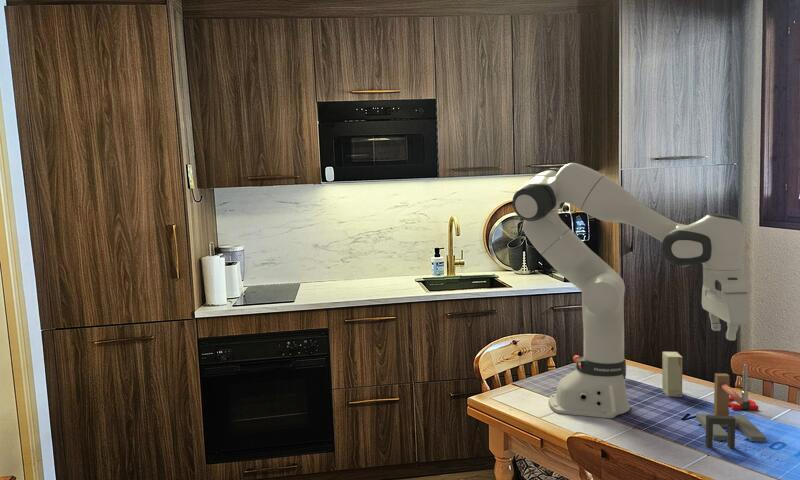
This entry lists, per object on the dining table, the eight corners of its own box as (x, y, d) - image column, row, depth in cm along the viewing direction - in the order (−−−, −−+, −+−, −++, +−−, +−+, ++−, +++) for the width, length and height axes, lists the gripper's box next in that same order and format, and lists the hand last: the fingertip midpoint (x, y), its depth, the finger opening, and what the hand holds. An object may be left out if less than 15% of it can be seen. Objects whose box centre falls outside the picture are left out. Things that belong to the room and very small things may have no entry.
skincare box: (682, 397, 181) (683, 357, 180) (667, 397, 182) (667, 357, 180) (676, 390, 187) (677, 351, 186) (661, 389, 188) (662, 350, 187)
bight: (708, 447, 148) (708, 418, 147) (705, 444, 149) (706, 415, 149) (734, 448, 147) (735, 418, 146) (731, 445, 148) (732, 415, 148)
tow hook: (717, 400, 179) (729, 410, 170) (718, 356, 179) (730, 364, 170) (748, 401, 178) (762, 411, 169) (749, 357, 177) (762, 365, 168)
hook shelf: (714, 439, 152) (715, 390, 151) (695, 417, 166) (696, 372, 164) (766, 441, 150) (767, 391, 149) (743, 419, 164) (744, 373, 163)
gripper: (694, 273, 160) (695, 325, 161) (725, 287, 140) (725, 345, 141) (720, 273, 159) (720, 324, 161) (754, 286, 139) (754, 345, 140)
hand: (723, 334), depth 151 cm, fingers open, 8 cm apart
